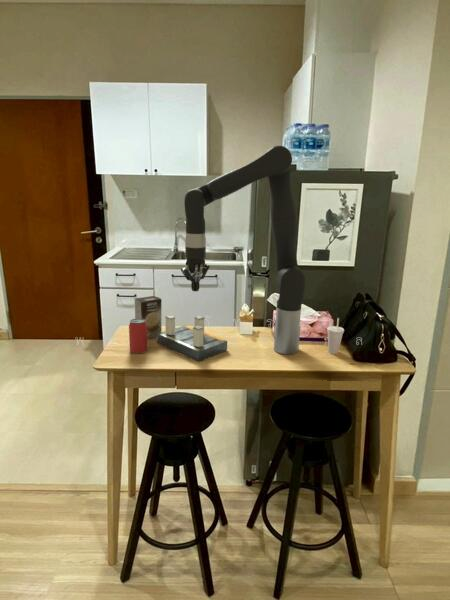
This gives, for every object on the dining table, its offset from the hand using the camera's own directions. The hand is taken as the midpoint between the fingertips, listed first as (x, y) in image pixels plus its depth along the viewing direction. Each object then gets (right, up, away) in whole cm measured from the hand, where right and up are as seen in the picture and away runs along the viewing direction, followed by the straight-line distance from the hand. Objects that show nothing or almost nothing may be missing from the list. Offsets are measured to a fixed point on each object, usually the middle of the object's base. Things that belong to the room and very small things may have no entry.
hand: (195, 290), depth 154 cm
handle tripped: (+1, -17, +7) cm, 18 cm away
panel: (-2, -22, +5) cm, 22 cm away
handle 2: (+1, -20, -4) cm, 21 cm away
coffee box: (-21, -19, +15) cm, 32 cm away
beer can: (-22, -23, 0) cm, 31 cm away
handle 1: (-10, -17, +6) cm, 21 cm away
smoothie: (+53, -24, +4) cm, 59 cm away
